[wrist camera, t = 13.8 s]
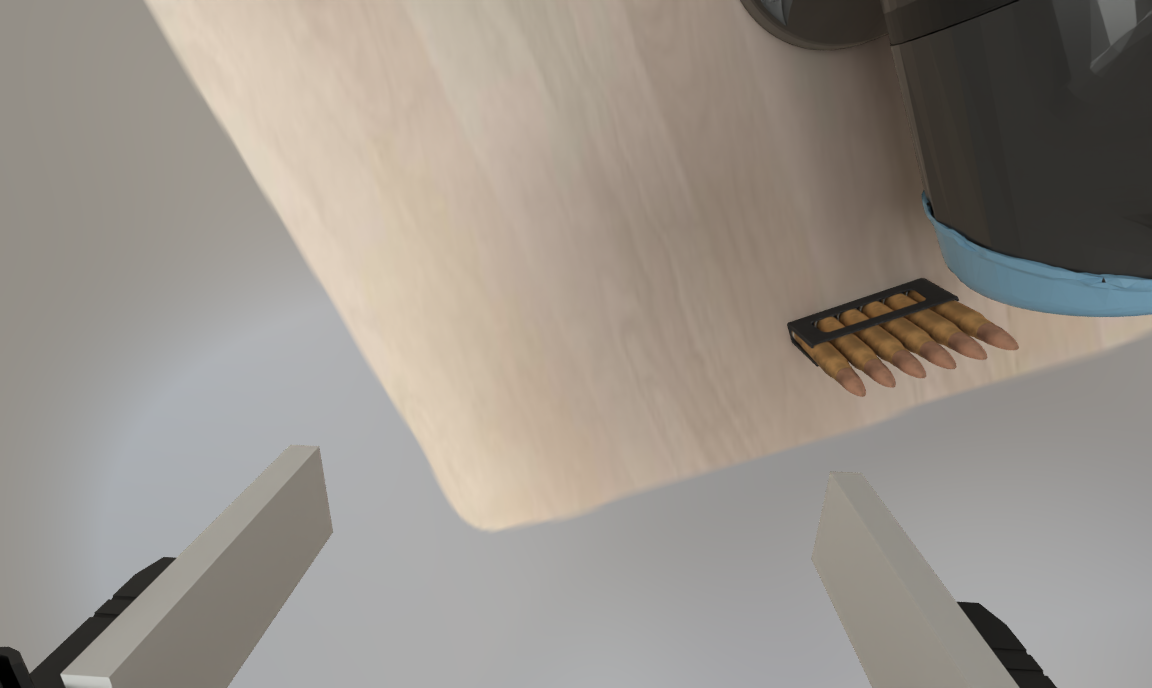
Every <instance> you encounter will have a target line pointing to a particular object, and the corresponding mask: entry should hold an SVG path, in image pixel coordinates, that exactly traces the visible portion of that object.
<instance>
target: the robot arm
mask: <svg viewBox="0 0 1152 688" xmlns="http://www.w3.org/2000/svg"><path fill="white" fill-rule="evenodd" d="M741 2H742V3H743V5H744V6H745V8H746V9H747V11H748V12H749V13H750V15H751V16H752V17H753V18H754V19H755V20H756V21H757V22H758V23H759V24H760V25H761V26H762V27H763V28H764V29H766V30H767V31H768V32H770V33H771V34H773V35H774V36H776V37H777V38H779V39H781V40H783V41H785V42H788V43H790V44H793V45H796V46H799V47H803V48H808V49H816V50H834V49H842V48H848V47H852V46H856V45H859V44H862V43H865V42H868V41H871V40H873V39H876V38H879V37H881V36H884V35H886V34H889V38H890V42H891V43H890V44H891V45H890V47H891V51H892V55H893V60H894V64H895V68H896V72H897V77H898V81H899V85H900V89H901V94H902V98H903V102H904V106H905V111H906V115H907V119H908V123H909V128H910V132H911V136H912V140H913V144H914V149H915V153H916V157H917V161H918V166H919V170H920V174H921V178H922V183H923V187H924V191H923V193H922V203H923V207H924V211H925V213H926V215H927V217H928V218H929V219H930V221H931V223H932V224H933V226H934V228H935V232H936V235H937V238H938V242H939V245H940V249H941V252H942V255H943V258H944V260H945V263H946V264H947V266H948V268H949V269H950V270H951V271H952V272H953V273H955V275H956V276H957V277H958V278H959V279H960V281H961V282H963V283H964V284H965V285H966V286H967V287H969V288H970V289H972V290H974V291H975V292H977V293H979V294H981V295H983V296H985V297H987V298H990V299H992V300H995V301H998V302H1001V303H1004V304H1007V305H1011V306H1014V307H1018V308H1022V309H1027V310H1032V311H1038V312H1044V313H1051V314H1060V315H1070V316H1087V317H1124V316H1139V315H1150V314H1152V0H741ZM332 533H333V529H332V523H331V516H330V511H329V504H328V498H327V492H326V485H325V479H324V473H323V467H322V461H321V455H320V449H319V446H304V445H290V446H289V447H288V448H287V449H286V450H285V451H284V452H283V453H282V454H281V455H280V456H279V457H278V458H277V459H276V460H275V461H274V462H273V463H272V464H271V465H270V466H269V467H268V468H267V469H266V470H265V471H264V472H263V473H262V474H261V475H260V476H259V477H258V478H257V479H256V480H255V481H254V482H253V483H252V484H251V485H250V486H249V487H248V488H247V489H246V490H245V491H244V492H243V493H242V494H241V495H240V496H239V497H238V498H237V499H236V500H235V501H234V502H233V503H232V504H231V505H230V506H229V507H228V508H227V509H226V510H225V511H224V512H223V513H222V514H221V515H220V516H219V517H218V518H216V520H215V521H213V522H212V524H210V525H209V527H208V528H206V529H205V531H203V533H201V534H200V535H199V536H198V538H196V539H195V540H194V541H193V543H191V545H189V546H188V547H187V548H186V549H185V550H184V551H183V552H182V553H181V554H180V555H179V557H177V558H171V557H163V558H161V559H160V560H158V561H157V562H155V563H153V564H152V565H150V566H148V567H147V568H145V569H143V570H142V571H140V572H138V573H137V574H135V575H134V576H133V577H132V578H131V579H130V580H129V581H128V582H127V583H126V584H124V586H122V587H121V588H120V589H119V590H118V591H117V592H116V593H115V594H114V595H113V598H112V599H111V600H108V601H106V603H104V605H102V606H101V607H100V608H99V609H98V610H97V611H96V612H95V615H94V616H93V617H90V618H88V619H87V621H85V622H84V623H83V624H82V625H81V626H80V627H79V628H78V629H77V630H76V631H75V632H74V633H73V634H71V635H70V636H69V637H68V638H67V639H66V640H65V641H64V642H63V643H62V644H61V645H60V646H59V647H58V648H57V649H56V650H55V651H54V652H52V653H51V654H50V655H49V656H48V657H47V658H46V659H45V660H44V661H43V662H42V663H41V664H40V665H39V666H37V668H35V669H34V670H33V671H32V672H31V673H30V674H29V672H28V670H27V667H26V665H25V663H24V661H23V659H22V656H21V654H20V652H19V651H17V650H15V649H12V648H10V647H0V688H227V687H228V685H229V684H230V683H231V681H232V680H233V678H234V677H235V675H236V674H237V672H238V671H239V669H240V668H241V666H242V665H243V663H244V662H245V661H246V659H247V658H248V656H249V655H250V653H251V652H252V650H253V649H254V647H255V646H256V644H257V643H258V642H259V640H260V639H261V637H262V635H263V634H264V633H265V631H266V630H267V628H268V627H269V625H270V624H271V622H272V621H273V619H274V618H275V617H276V615H277V614H278V612H279V611H280V609H281V608H282V606H283V605H284V603H285V602H286V600H287V599H288V597H289V596H290V595H291V593H292V592H293V590H294V589H295V587H296V586H297V584H298V582H299V581H300V580H301V578H302V577H303V575H304V574H305V572H306V571H307V570H308V568H309V567H310V565H311V564H312V562H313V561H314V559H315V558H316V556H317V555H318V553H319V552H320V550H321V549H322V548H323V546H324V545H325V543H326V542H327V540H328V539H329V537H330V536H331V534H332ZM812 561H813V563H814V565H815V568H816V570H817V572H818V574H819V576H820V578H821V580H822V582H823V584H824V586H825V589H826V591H827V593H828V595H829V597H830V599H831V601H832V603H833V606H834V608H835V610H836V612H837V614H838V616H839V618H840V620H841V622H842V625H843V627H844V629H845V631H846V633H847V635H848V637H849V639H850V641H851V643H852V645H853V648H854V650H855V652H856V654H857V656H858V658H859V660H860V663H861V665H862V667H863V669H864V671H865V673H866V675H867V677H868V680H869V682H870V684H871V686H872V688H1057V687H1056V686H1055V685H1054V684H1053V682H1052V681H1051V680H1050V679H1049V678H1048V676H1044V674H1043V670H1042V669H1041V667H1040V666H1039V665H1038V664H1037V662H1036V661H1035V660H1034V659H1033V657H1032V656H1031V655H1028V654H1027V653H1026V649H1025V648H1024V646H1023V645H1022V644H1021V642H1020V641H1019V640H1018V639H1017V638H1016V636H1015V635H1014V634H1013V633H1012V631H1011V630H1010V629H1009V628H1008V626H1007V625H1006V624H1004V623H1003V622H1002V621H1001V620H1000V619H998V618H997V617H996V616H994V615H993V614H992V613H991V612H989V611H988V610H987V609H986V608H984V607H983V606H982V605H981V604H979V603H969V602H956V601H955V599H954V598H953V597H952V596H951V594H950V593H949V591H948V590H947V589H946V587H945V586H944V584H943V583H942V582H941V580H940V579H939V578H938V576H937V575H936V574H935V572H934V571H933V570H932V568H931V567H930V565H929V564H928V563H927V562H926V560H925V559H924V557H923V556H922V555H921V553H920V552H919V551H918V549H917V548H916V546H915V545H914V544H913V542H912V541H911V540H910V539H909V537H908V536H907V534H906V533H905V532H904V530H903V529H902V527H901V526H900V525H899V523H898V522H897V521H896V519H895V518H894V517H893V515H892V514H891V512H890V511H889V510H888V508H887V507H886V506H885V504H884V503H883V502H882V500H881V499H880V498H879V496H878V495H877V494H876V492H875V491H874V489H873V488H872V487H871V485H870V484H869V483H868V481H867V480H866V479H865V477H864V476H863V474H862V473H850V472H830V476H829V481H828V485H827V490H826V494H825V499H824V503H823V508H822V512H821V517H820V522H819V526H818V531H817V535H816V540H815V545H814V550H813V554H812Z"/></svg>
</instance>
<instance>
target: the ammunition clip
mask: <svg viewBox="0 0 1152 688" xmlns="http://www.w3.org/2000/svg"><path fill="white" fill-rule="evenodd" d="M955 300H956V301H955ZM957 301H959V299H958V297H957V296H955V295H953V294H951V293H950V292H948V291H946V290H944V289H942V288H940V287H939V286H937V285H935V284H933V283H932V282H930V281H928V280H926V279H924V278H920V279H917V280H914V281H911V282H908V283H905V284H902V285H899V286H896V287H893V288H890V289H887V290H885V291H882V292H879V293H876V294H873V295H870V296H867V297H864V298H861V299H858V300H855V301H852V302H849V303H846V304H843V305H840V306H837V307H834V308H831V309H828V310H825V311H822V312H819V313H816V314H813V315H810V316H807V317H804V318H801V319H798V320H795V321H793V322H790V323H788V324H787V326H788V329H789V333H790V336H791V340H792V343H793V344H794V345H795V346H796V347H797V348H798V349H799V350H800V351H801V352H802V353H803V354H805V355H806V356H807V357H808V358H809V359H810V360H811V361H812V362H813V363H814V364H815V365H816V366H820V367H821V368H822V369H823V371H824V372H825V373H826V374H828V375H829V376H830V377H832V378H834V379H835V380H836V381H837V382H838V383H840V384H841V385H842V386H843V387H844V388H845V389H846V390H848V391H849V392H851V393H853V394H855V395H857V396H862V397H863V396H865V395H866V389H865V386H864V384H863V382H862V380H861V379H860V377H859V376H858V375H857V374H856V373H855V372H854V370H853V369H852V367H851V366H850V365H849V363H848V361H849V362H850V363H851V364H852V365H853V366H854V367H855V368H857V369H859V370H861V371H863V372H864V373H865V374H866V375H868V376H869V377H870V378H872V379H873V380H874V381H876V382H877V383H879V384H881V385H884V386H887V387H895V385H896V382H895V379H894V377H893V375H892V373H891V371H890V370H889V369H888V368H887V367H886V366H885V365H884V364H883V363H882V361H881V360H880V359H879V358H878V357H877V356H876V355H878V356H879V357H880V358H881V359H883V360H885V361H888V362H890V363H891V364H892V365H894V366H896V367H897V368H899V369H900V370H901V371H903V372H905V373H906V374H908V375H911V376H914V377H917V378H925V377H926V372H925V370H924V368H923V366H922V364H921V363H920V362H919V361H918V360H917V359H916V358H915V357H914V356H913V355H912V354H911V353H910V352H913V353H916V354H918V355H919V356H921V357H923V358H925V359H926V360H928V361H929V362H931V363H933V364H935V365H937V366H940V367H943V368H947V369H955V368H956V363H955V360H954V359H953V357H952V356H951V355H950V353H949V352H947V351H946V350H945V349H944V348H943V347H942V346H940V345H939V344H942V345H945V346H947V347H948V348H950V349H953V350H955V351H956V352H958V353H960V354H962V355H964V356H967V357H970V358H974V359H979V360H984V359H987V354H986V352H985V350H984V349H983V348H982V346H981V345H980V344H979V343H977V342H976V341H975V340H974V339H973V338H971V337H970V336H972V337H975V338H977V339H979V340H981V341H984V342H985V343H987V344H990V345H992V346H995V347H998V348H1001V349H1006V350H1017V349H1018V348H1019V346H1018V344H1017V342H1016V341H1015V339H1014V338H1013V337H1012V336H1011V335H1010V334H1008V333H1007V332H1006V331H1004V330H1003V329H1002V328H1000V327H998V326H996V325H995V324H994V323H992V322H990V321H989V320H987V319H986V318H985V317H984V316H983V315H982V314H980V313H979V312H977V311H975V310H973V309H971V308H969V307H967V306H965V305H963V304H961V303H959V302H957ZM938 343H939V344H938ZM906 349H907V350H906ZM909 351H910V352H909ZM847 360H848V361H847Z"/></svg>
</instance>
